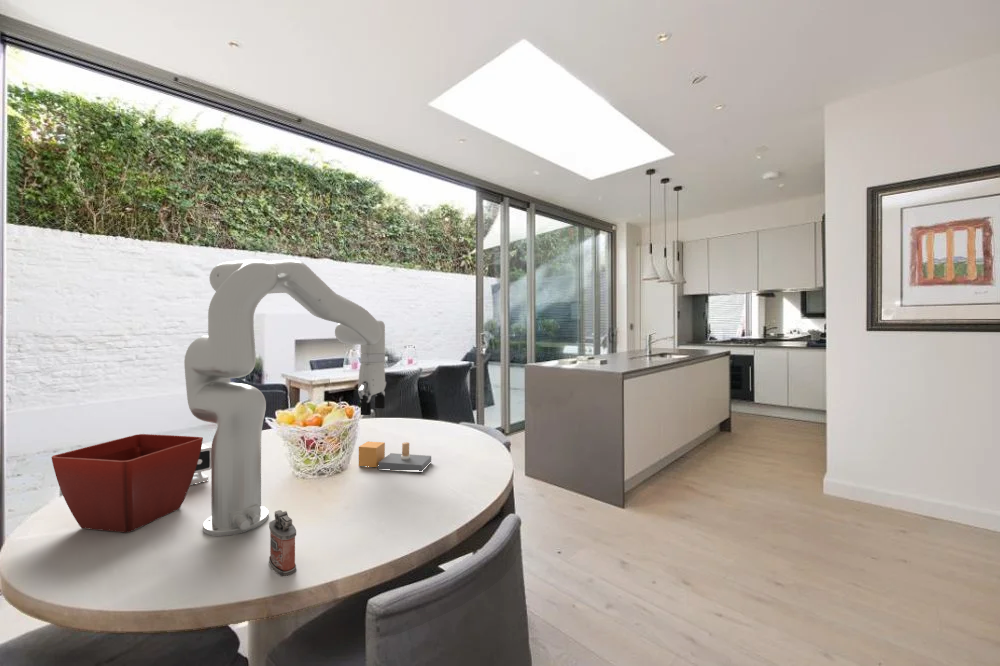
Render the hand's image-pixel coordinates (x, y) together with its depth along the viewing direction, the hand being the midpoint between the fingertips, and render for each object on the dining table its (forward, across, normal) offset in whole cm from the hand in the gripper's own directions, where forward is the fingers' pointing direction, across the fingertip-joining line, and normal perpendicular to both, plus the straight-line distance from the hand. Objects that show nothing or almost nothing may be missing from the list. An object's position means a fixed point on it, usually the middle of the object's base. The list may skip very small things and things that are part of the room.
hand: (373, 411), depth 133 cm
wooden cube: (+17, +1, 0) cm, 17 cm away
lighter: (+16, +56, +9) cm, 59 cm away
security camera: (+17, +24, -42) cm, 51 cm away
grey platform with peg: (+17, +1, +11) cm, 21 cm away
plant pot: (+16, +45, -37) cm, 61 cm away
